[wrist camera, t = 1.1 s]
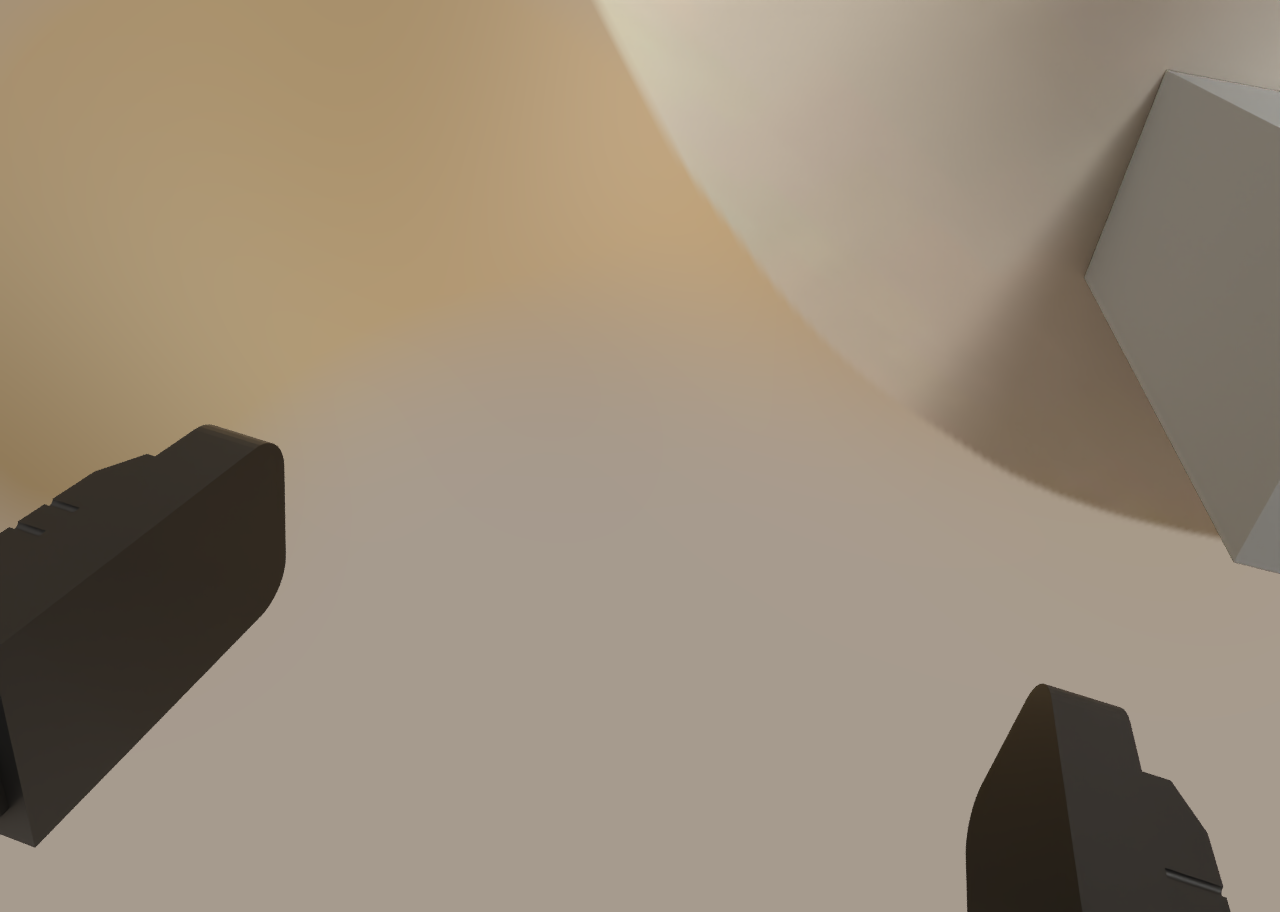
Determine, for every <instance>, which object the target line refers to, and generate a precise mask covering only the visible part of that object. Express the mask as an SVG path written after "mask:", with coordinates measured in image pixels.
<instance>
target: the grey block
mask: <svg viewBox="0 0 1280 912" xmlns="http://www.w3.org/2000/svg"><path fill="white" fill-rule="evenodd" d="M1084 279H1085V280H1086V282H1087V284H1088V286H1089V288H1090V290H1091V292H1092V294H1093V296H1094V298H1095V299H1096V301H1097V303H1098V305H1099V307H1100V309H1101V311H1102V313H1103V315H1104V317H1105V319H1106V320H1107V322H1108V324H1109V326H1110V328H1111V330H1112V332H1113V334H1114V336H1115V338H1116V339H1117V341H1118V343H1119V345H1120V347H1121V349H1122V351H1123V353H1124V355H1125V357H1126V358H1127V360H1128V362H1129V364H1130V366H1131V368H1132V370H1133V372H1134V374H1135V376H1136V378H1137V379H1138V381H1139V383H1140V385H1141V387H1142V389H1143V391H1144V393H1145V395H1146V397H1147V398H1148V400H1149V402H1150V404H1151V406H1152V408H1153V410H1154V412H1155V414H1156V416H1157V418H1158V419H1159V421H1160V423H1161V425H1162V427H1163V429H1164V431H1165V433H1166V435H1167V437H1168V438H1169V440H1170V442H1171V444H1172V446H1173V448H1174V450H1175V452H1176V454H1177V456H1178V457H1179V459H1180V461H1181V463H1182V465H1183V467H1184V469H1185V471H1186V473H1187V475H1188V477H1189V478H1190V480H1191V482H1192V484H1193V486H1194V488H1195V490H1196V492H1197V494H1198V496H1199V497H1200V499H1201V501H1202V503H1203V505H1204V507H1205V509H1206V511H1207V513H1208V515H1209V516H1210V518H1211V520H1212V522H1213V524H1214V526H1215V528H1216V530H1217V532H1218V534H1219V536H1220V537H1221V539H1222V541H1223V543H1224V545H1225V547H1226V549H1227V551H1228V552H1229V554H1230V556H1231V558H1232V560H1233V562H1235V563H1239V564H1243V565H1247V566H1251V567H1255V568H1259V569H1263V570H1267V571H1271V572H1275V573H1279V574H1280V91H1276V90H1270V89H1265V88H1260V87H1254V86H1249V85H1244V84H1238V83H1233V82H1228V81H1222V80H1217V79H1212V78H1206V77H1201V76H1196V75H1190V74H1185V73H1180V72H1174V71H1169V70H1166V72H1165V75H1164V77H1163V80H1162V82H1161V85H1160V87H1159V90H1158V92H1157V95H1156V97H1155V100H1154V102H1153V105H1152V107H1151V110H1150V112H1149V115H1148V118H1147V120H1146V123H1145V125H1144V128H1143V130H1142V133H1141V135H1140V138H1139V140H1138V143H1137V145H1136V148H1135V150H1134V153H1133V155H1132V158H1131V160H1130V163H1129V165H1128V168H1127V171H1126V173H1125V176H1124V178H1123V181H1122V183H1121V186H1120V188H1119V191H1118V193H1117V196H1116V198H1115V201H1114V203H1113V206H1112V208H1111V211H1110V213H1109V216H1108V218H1107V221H1106V224H1105V226H1104V229H1103V231H1102V234H1101V236H1100V239H1099V241H1098V244H1097V246H1096V249H1095V251H1094V254H1093V256H1092V259H1091V261H1090V264H1089V266H1088V269H1087V271H1086V274H1085V277H1084Z"/></svg>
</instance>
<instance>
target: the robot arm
mask: <svg viewBox="0 0 1280 912" xmlns="http://www.w3.org/2000/svg"><path fill="white" fill-rule="evenodd" d="M285 560H286V544H285V482H284V459H283V455H282V453H281V450H280V449H279V448H278V446H276V445H275V444H272V443H269V442H266V441H263V440H260V439H256V438H253V437H250V436H246V435H243V434H240V433H237V432H234V431H230V430H227V429H224V428H221V427H218V426H214V425H203V426H200V427H198V428H197V429H195V430H193V431H192V432H190V433H189V434H187V435H186V436H184V437H183V438H181V439H180V440H179V441H177V442H176V443H174V444H173V445H171V446H170V447H168V448H167V449H165V450H164V451H162V452H161V453H160V454H158V455H157V456H152V455H149V454H146V455H143V456H140V457H137V458H134V459H131V460H128V461H125V462H122V463H119V464H116V465H113V466H110V467H107V468H104V469H101V470H98V471H95V472H93V473H92V474H90V475H89V476H87V477H85V478H84V479H82V480H81V481H79V482H78V483H76V484H75V485H73V486H72V487H70V488H69V489H67V490H66V491H64V492H62V493H61V494H59V495H58V496H56V497H55V498H53V501H52V504H51V505H50V506H47V505H45V504H44V505H43V506H41V507H40V508H38V509H37V510H35V511H33V512H32V513H31V514H29V515H28V516H26V517H24V518H23V519H21V520H20V521H18V525H17V527H16V528H15V529H13V528H10V527H9V528H7V529H6V530H4V531H3V532H1V533H0V834H1V835H4V836H6V837H9V838H12V839H14V840H17V841H20V842H22V843H25V844H28V845H30V846H32V847H36V846H37V845H38V844H39V843H40V842H41V841H42V840H43V839H44V838H45V837H46V836H47V835H48V834H49V833H50V832H51V831H52V830H53V829H54V828H55V826H56V825H58V824H59V823H60V821H61V820H62V819H63V818H64V817H65V816H66V815H67V814H68V813H69V812H70V811H71V810H72V809H73V808H74V807H75V806H76V805H77V804H78V803H79V802H80V801H81V800H82V799H83V798H84V797H85V796H86V795H87V794H88V793H89V792H90V791H91V790H92V789H93V788H94V787H95V786H96V785H97V784H98V783H99V781H100V780H101V779H102V778H103V777H104V776H105V775H106V774H107V773H108V772H109V771H110V770H111V769H112V768H113V767H114V766H115V765H116V764H117V763H118V762H119V761H120V760H121V759H122V758H123V757H124V756H125V755H126V754H127V753H128V752H129V751H130V750H131V749H132V748H133V747H134V746H135V745H136V744H137V743H138V742H139V740H140V739H141V738H142V737H143V736H144V735H145V734H146V733H147V732H148V731H149V730H150V729H151V728H152V727H153V726H154V725H155V724H156V723H157V722H158V721H159V720H160V719H161V718H162V717H163V716H164V715H165V714H166V713H167V712H168V711H169V710H170V709H171V707H172V706H174V705H175V704H176V703H177V702H178V700H179V699H180V698H181V697H182V696H183V695H184V694H185V693H186V692H187V691H188V690H189V689H190V688H191V687H192V686H193V685H194V684H195V683H196V682H197V681H198V680H199V679H200V678H201V677H202V676H203V675H204V674H205V673H206V672H207V671H208V670H209V669H210V668H211V667H212V666H213V665H214V664H215V663H216V662H217V660H218V659H219V658H220V657H221V656H222V655H223V654H224V653H225V652H226V651H227V650H228V649H229V648H230V647H231V646H232V645H233V644H234V643H235V642H236V641H237V640H238V639H239V638H240V637H241V636H242V635H243V634H244V633H245V632H246V631H247V630H248V629H249V628H250V627H251V626H252V625H253V624H254V623H255V622H256V621H257V620H258V618H259V617H260V616H261V615H262V614H263V613H264V612H265V611H266V609H267V608H268V606H269V605H270V603H271V602H272V600H273V598H274V596H275V594H276V592H277V590H278V588H279V586H280V583H281V580H282V577H283V573H284V568H285ZM966 875H967V876H966V878H967V879H966V880H967V912H1230V909H1229V905H1228V902H1227V898H1225V897H1223V896H1222V895H1221V891H1222V888H1223V884H1222V881H1221V878H1220V874H1219V871H1218V867H1217V864H1216V861H1215V857H1214V854H1213V851H1212V847H1211V844H1210V840H1209V837H1208V834H1207V832H1206V830H1205V829H1204V828H1203V826H1202V825H1201V823H1200V822H1199V820H1198V819H1197V818H1196V816H1195V815H1194V814H1193V812H1192V810H1191V809H1190V808H1189V806H1188V805H1187V803H1186V802H1185V801H1184V799H1183V798H1182V796H1181V795H1180V793H1179V792H1178V790H1177V789H1176V787H1175V786H1174V785H1173V783H1172V782H1171V781H1170V780H1167V779H1164V778H1161V777H1157V776H1154V775H1151V774H1148V773H1145V772H1142V770H1141V766H1140V762H1139V757H1138V753H1137V749H1136V745H1135V740H1134V736H1133V732H1132V728H1131V724H1130V721H1129V717H1128V715H1127V713H1126V712H1125V711H1124V710H1123V709H1122V708H1120V707H1117V706H1114V705H1110V704H1107V703H1104V702H1101V701H1098V700H1094V699H1091V698H1088V697H1085V696H1081V695H1078V694H1075V693H1071V692H1068V691H1065V690H1062V689H1059V688H1056V687H1052V686H1049V685H1046V684H1039V685H1038V686H1036V687H1035V688H1034V689H1033V690H1032V692H1031V693H1030V694H1029V696H1028V698H1027V699H1026V701H1025V704H1024V705H1023V707H1022V709H1021V711H1020V713H1019V715H1018V717H1017V719H1016V720H1015V722H1014V724H1013V726H1012V728H1011V730H1010V732H1009V734H1008V736H1007V738H1006V740H1005V741H1004V743H1003V745H1002V747H1001V749H1000V751H999V753H998V755H997V757H996V758H995V761H994V763H993V764H992V766H991V768H990V770H989V772H988V774H987V776H986V778H985V779H984V782H983V783H982V785H981V787H980V789H979V792H978V794H977V797H976V800H975V802H974V806H973V809H972V813H971V817H970V821H969V826H968V833H967V840H966Z"/></svg>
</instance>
